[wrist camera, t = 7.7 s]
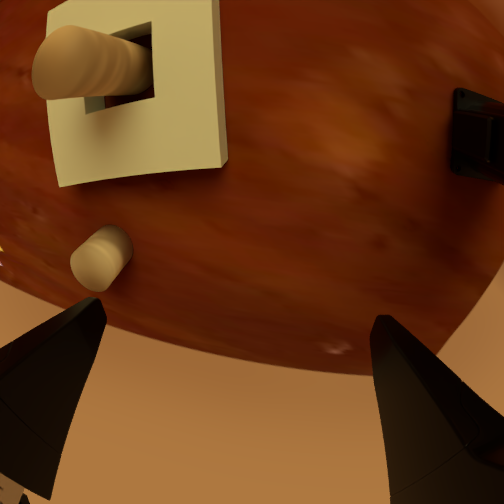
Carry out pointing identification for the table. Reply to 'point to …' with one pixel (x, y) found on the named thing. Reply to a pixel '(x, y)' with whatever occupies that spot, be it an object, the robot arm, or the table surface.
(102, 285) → the short pin
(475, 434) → the robot arm
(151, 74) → the long pin
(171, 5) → the board
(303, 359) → the table surface
